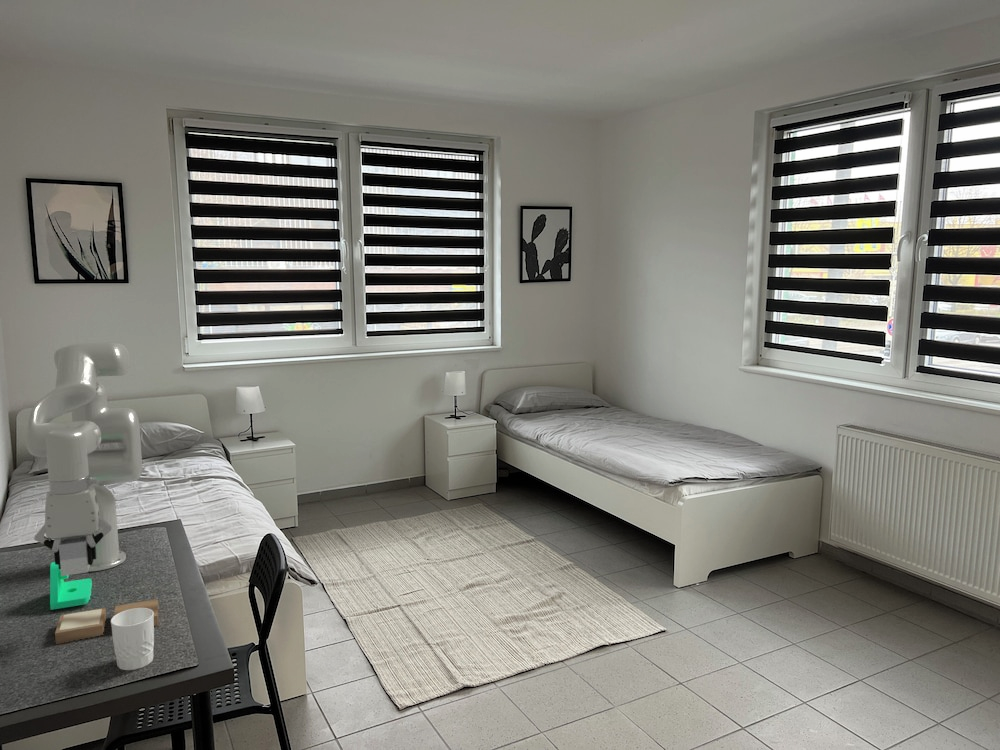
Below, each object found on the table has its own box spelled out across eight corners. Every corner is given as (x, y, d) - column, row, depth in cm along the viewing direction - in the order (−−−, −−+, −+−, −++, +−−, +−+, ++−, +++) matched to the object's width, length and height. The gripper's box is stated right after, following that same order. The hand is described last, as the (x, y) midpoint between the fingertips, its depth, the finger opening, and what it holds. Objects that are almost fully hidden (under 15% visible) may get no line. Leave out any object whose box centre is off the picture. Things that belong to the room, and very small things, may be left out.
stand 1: (61, 625, 165) (60, 614, 164) (106, 617, 168) (105, 606, 168) (55, 644, 156) (54, 632, 156) (103, 635, 160) (102, 624, 160)
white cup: (128, 676, 145) (125, 629, 143) (106, 665, 149) (102, 619, 147) (164, 658, 151) (161, 613, 150) (142, 648, 155) (139, 604, 154)
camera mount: (88, 608, 173) (84, 567, 172) (51, 614, 170) (47, 572, 168) (92, 587, 184) (89, 549, 182) (57, 592, 181) (54, 553, 179)
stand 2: (116, 615, 169) (115, 605, 169) (158, 608, 173) (157, 598, 172) (113, 633, 161) (112, 623, 161) (158, 626, 165) (157, 615, 164)
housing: (65, 563, 162) (63, 534, 161) (91, 560, 164) (88, 530, 163) (61, 576, 156) (58, 545, 155) (87, 572, 158) (85, 541, 157)
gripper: (115, 476, 164) (120, 552, 167) (26, 485, 157) (34, 564, 160) (112, 485, 157) (118, 564, 160) (20, 495, 150) (28, 577, 153)
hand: (76, 563), depth 160 cm, fingers closed on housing, 5 cm apart
